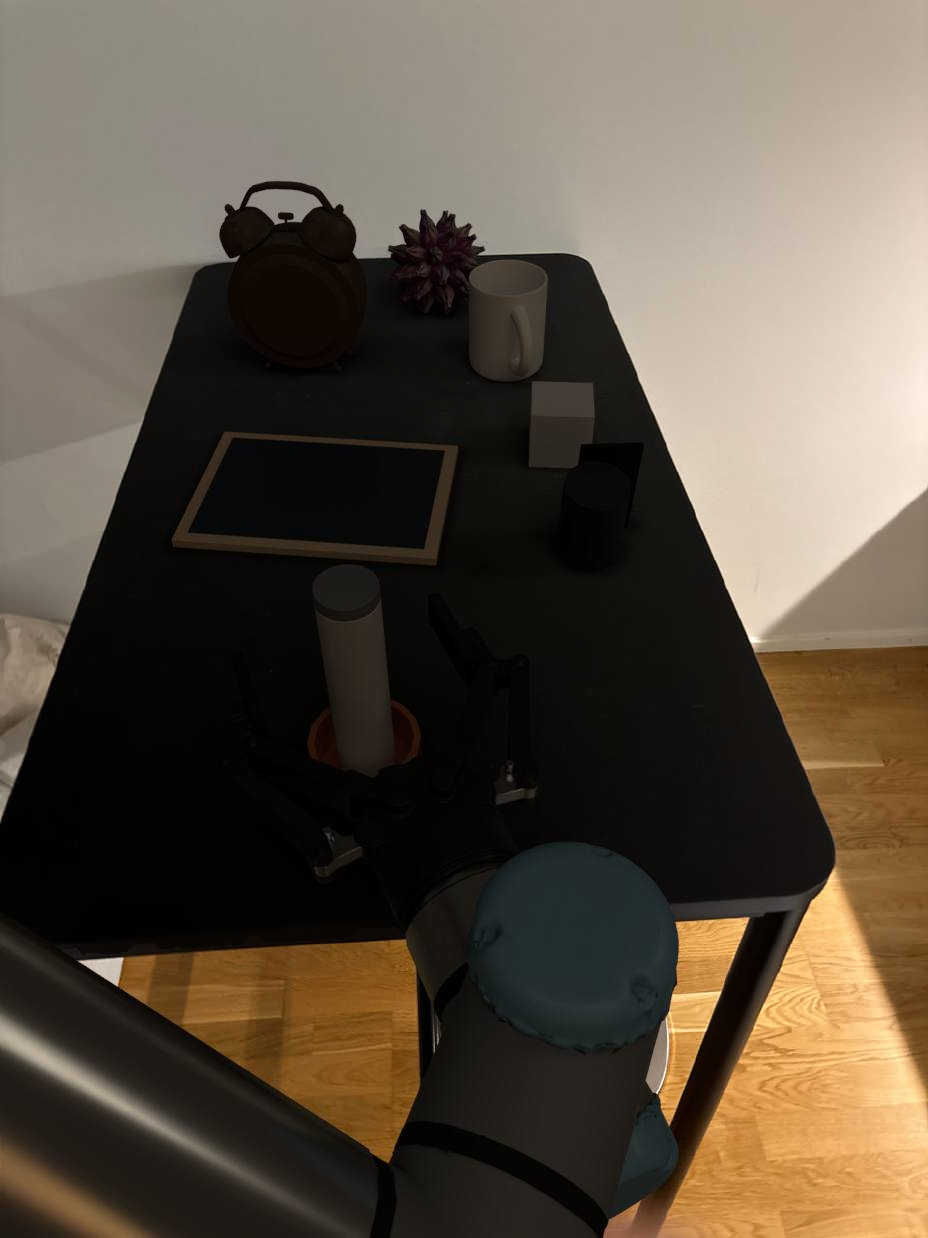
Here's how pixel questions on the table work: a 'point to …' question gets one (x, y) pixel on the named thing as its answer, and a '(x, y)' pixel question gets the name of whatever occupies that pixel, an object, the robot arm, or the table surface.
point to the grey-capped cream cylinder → (355, 666)
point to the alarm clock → (294, 280)
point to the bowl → (403, 731)
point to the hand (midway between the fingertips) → (338, 635)
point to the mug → (507, 319)
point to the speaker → (598, 504)
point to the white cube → (560, 423)
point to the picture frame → (322, 498)
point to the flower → (435, 261)
